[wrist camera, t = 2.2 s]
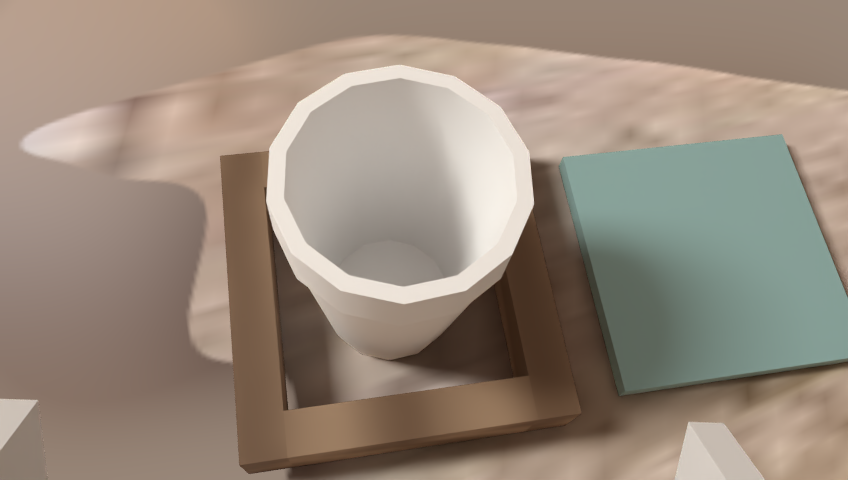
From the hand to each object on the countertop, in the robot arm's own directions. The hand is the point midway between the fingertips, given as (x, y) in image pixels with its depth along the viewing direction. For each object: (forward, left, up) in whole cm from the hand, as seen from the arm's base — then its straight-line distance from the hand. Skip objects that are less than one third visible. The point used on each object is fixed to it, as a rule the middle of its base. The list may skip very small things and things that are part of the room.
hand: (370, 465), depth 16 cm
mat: (-20, -11, -20) cm, 30 cm away
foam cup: (-3, -11, -20) cm, 23 cm away
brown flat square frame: (-3, -11, -20) cm, 23 cm away
